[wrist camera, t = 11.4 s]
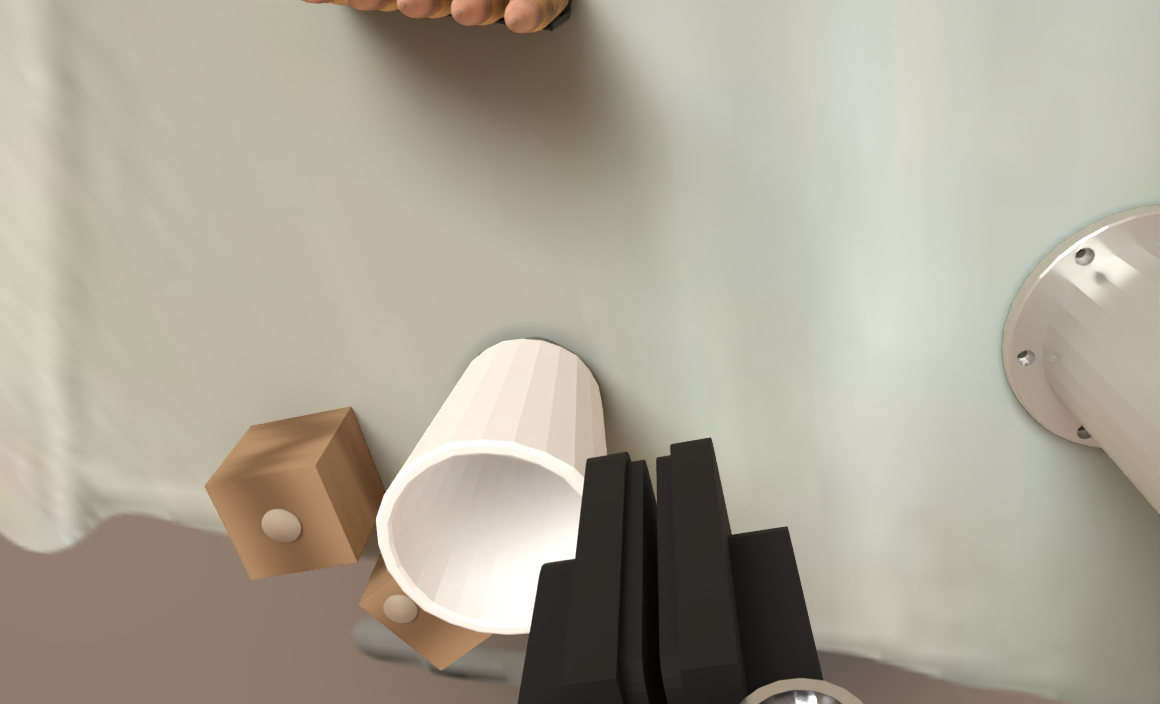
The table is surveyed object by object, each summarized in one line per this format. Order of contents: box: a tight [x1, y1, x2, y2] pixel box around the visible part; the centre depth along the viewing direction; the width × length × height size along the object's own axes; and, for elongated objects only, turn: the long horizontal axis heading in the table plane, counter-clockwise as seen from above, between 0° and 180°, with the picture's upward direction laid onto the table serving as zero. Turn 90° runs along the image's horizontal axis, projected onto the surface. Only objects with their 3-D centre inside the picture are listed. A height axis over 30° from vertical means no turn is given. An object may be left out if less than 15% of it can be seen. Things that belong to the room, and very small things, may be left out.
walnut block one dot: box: [205, 407, 386, 580], centre depth 48 cm, size 6×6×6 cm
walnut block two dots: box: [359, 553, 493, 671], centre depth 50 cm, size 6×6×6 cm
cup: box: [376, 337, 607, 635], centre depth 42 cm, size 10×10×13 cm
